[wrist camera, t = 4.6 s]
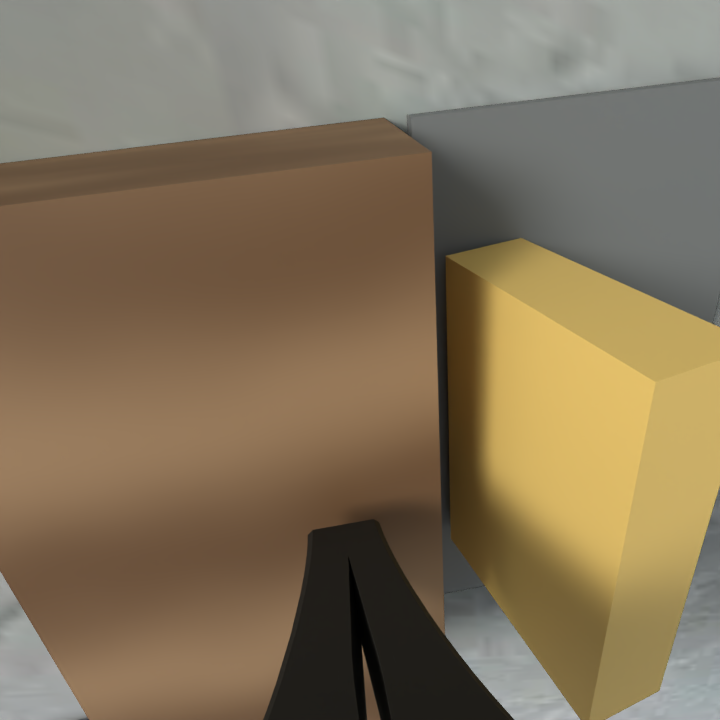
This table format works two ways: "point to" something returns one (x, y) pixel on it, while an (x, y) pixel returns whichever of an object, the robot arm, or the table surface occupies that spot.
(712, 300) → the mat
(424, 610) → the robot arm
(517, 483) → the tile
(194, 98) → the table surface
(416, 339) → the brown wooden block
